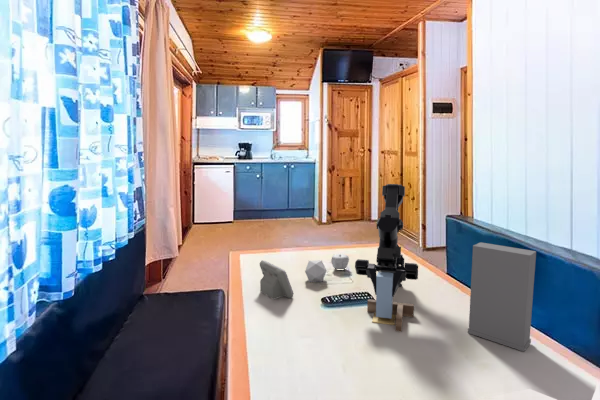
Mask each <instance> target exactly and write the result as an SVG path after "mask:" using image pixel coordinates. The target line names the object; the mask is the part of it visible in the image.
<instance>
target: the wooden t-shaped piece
mask: <svg viewBox="0 0 600 400" xmlns="http://www.w3.org/2000/svg"><path fill="white" fill-rule="evenodd" d="M366 306H367V308H366V309H367V310H366V311H367V312H368V313H373V316H372V321H371V322H372V323H374V324H383V325H391V326H395V332H399V333H400V332H402V331H403V330H402V329H403V328H402V327H403V318H404V317H409V318H414V316H415V315H414V314H415V304H414V303H408V302H407V303H405V302H396V301H393V310H392V318H391V319H390V318H382V317H376V299H370V298H369V299H367V305H366Z"/></svg>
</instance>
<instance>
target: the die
mask: <svg viewBox="0 0 600 400" xmlns="http://www.w3.org/2000/svg"><path fill="white" fill-rule="evenodd" d="M304 273H305V275H306V278H307V280H308V282H309V283H317V282H318V283H319V282H320V283H322V282H323V281H324V279H325V275H326V273H327V268H326V267H325V264H324V262H323V260H308V262H307V265H306V268H305V270H304Z"/></svg>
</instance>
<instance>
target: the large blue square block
mask: <svg viewBox="0 0 600 400" xmlns="http://www.w3.org/2000/svg"><path fill="white" fill-rule="evenodd" d="M376 276H377V282H376V295H375V297H376V299H375V300H376V317H382V318H390V319H391V318H392V310H393V302H394V299H393V298H394V297H392V289H393V273H389V272H380V271H377V273H376Z"/></svg>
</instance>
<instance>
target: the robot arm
mask: <svg viewBox="0 0 600 400" xmlns="http://www.w3.org/2000/svg"><path fill="white" fill-rule="evenodd" d="M381 188H382V192H381V193H382V197H383V199H384V203H385V205H384V209H383V210H382V211H380V216H379V218H377V221H376V229H377V230H378V238H379V244H378V247H377V252H376V253H377V254H376V264H375V263H370V261H369V259H359V258H358V259H356V260H355V263H354V269H355V273H356V274H357V275H359V276H366V277H367V278H368V279H370V280H371V282H372V286H373V290H374V293H375V294H374V295H375V296H376V282H377V272H389V273H393V289H392V297H393V298H394V296H395V294H396V293H397V290H398V288H399V287H402V286H403V282H405V281H406V280H414V281H417V280H418V279H419V265H418V264H417V263H414V262H413V263H412V262H411V263H409V262H405V257H404V256H403V254H402V246H400V245H399V244H398V242H399V237H398V234H399V233H400V231H402V229H404V222H403V220H402V218H401V219H400V216H401V215H400V212H399V207H400V206H401V205H402V203H403V200H404V197H406V196H405V195H406V193H405V192H406V186H404V185H402V184H398V183H387V184H385V185H382V186H381Z"/></svg>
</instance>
